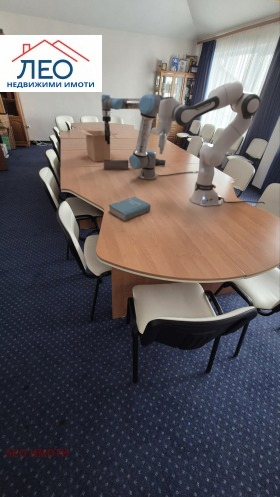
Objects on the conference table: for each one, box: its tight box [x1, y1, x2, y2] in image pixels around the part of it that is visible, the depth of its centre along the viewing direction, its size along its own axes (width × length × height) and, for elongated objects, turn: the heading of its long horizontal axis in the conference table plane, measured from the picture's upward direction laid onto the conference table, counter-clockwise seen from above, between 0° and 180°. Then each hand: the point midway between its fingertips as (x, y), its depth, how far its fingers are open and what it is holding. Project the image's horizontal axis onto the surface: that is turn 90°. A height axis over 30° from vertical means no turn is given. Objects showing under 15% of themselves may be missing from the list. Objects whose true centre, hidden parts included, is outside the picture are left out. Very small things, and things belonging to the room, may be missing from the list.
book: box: [108, 196, 152, 222], centre depth 146 cm, size 23×16×5 cm
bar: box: [102, 159, 130, 171], centre depth 218 cm, size 24×5×8 cm, turn 105°
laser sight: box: [155, 158, 166, 167], centre depth 237 cm, size 10×22×10 cm, turn 78°
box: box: [77, 128, 118, 163], centre depth 240 cm, size 44×36×27 cm
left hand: (107, 142), depth 204 cm, fingers open, 13 cm apart
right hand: (161, 152), depth 144 cm, fingers open, 8 cm apart
